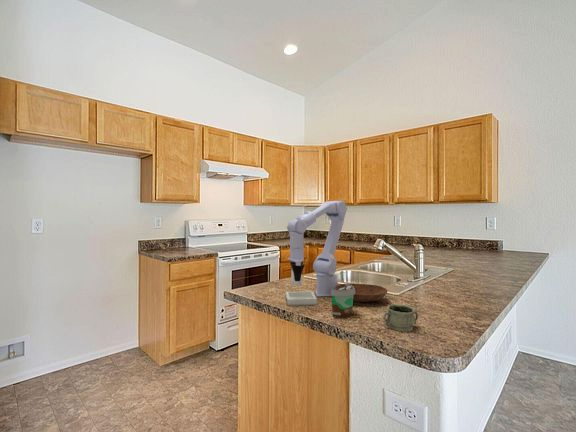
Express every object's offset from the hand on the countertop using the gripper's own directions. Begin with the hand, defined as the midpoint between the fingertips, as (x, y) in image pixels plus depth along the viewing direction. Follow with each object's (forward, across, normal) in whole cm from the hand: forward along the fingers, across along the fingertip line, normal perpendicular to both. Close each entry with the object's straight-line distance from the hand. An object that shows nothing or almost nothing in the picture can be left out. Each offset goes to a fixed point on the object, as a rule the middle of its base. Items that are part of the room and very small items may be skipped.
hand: (297, 279), depth 129 cm
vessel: (+10, +31, +32) cm, 45 cm away
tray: (+9, 0, +2) cm, 9 cm away
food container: (+9, +18, +17) cm, 26 cm away
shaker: (+2, 0, 0) cm, 2 cm away
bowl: (+10, 0, +28) cm, 29 cm away
